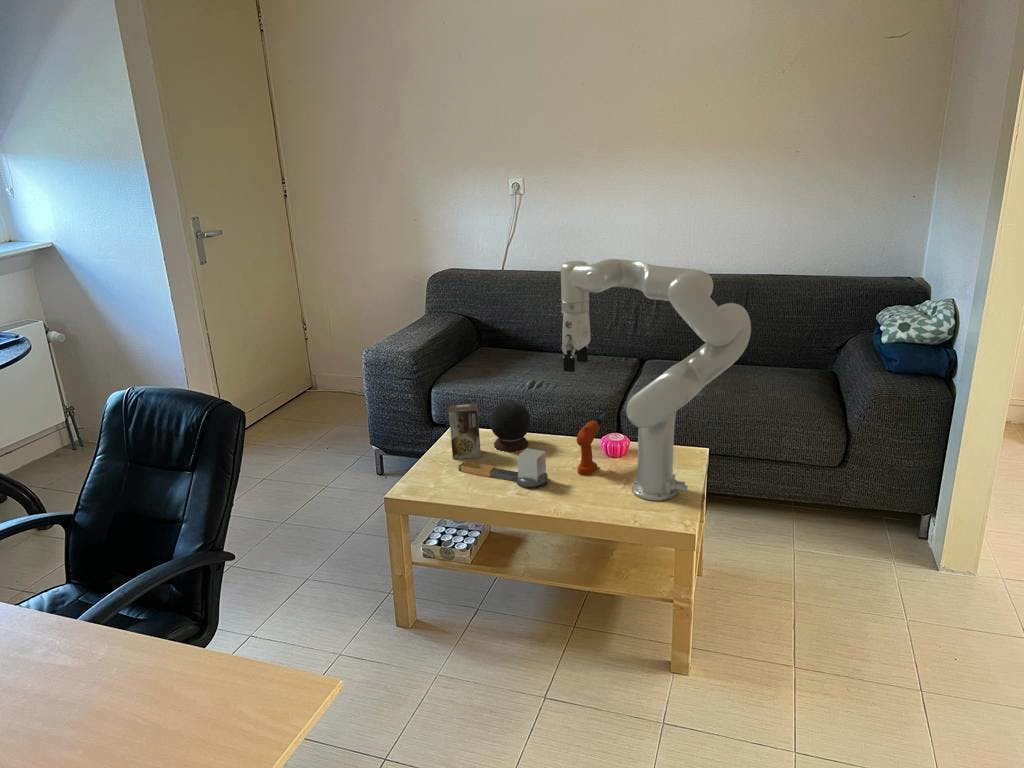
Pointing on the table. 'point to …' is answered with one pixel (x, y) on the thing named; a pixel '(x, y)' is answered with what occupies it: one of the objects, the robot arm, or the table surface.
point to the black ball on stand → (510, 426)
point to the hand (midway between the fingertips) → (575, 366)
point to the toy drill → (588, 446)
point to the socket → (531, 464)
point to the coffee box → (464, 431)
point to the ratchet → (501, 474)
